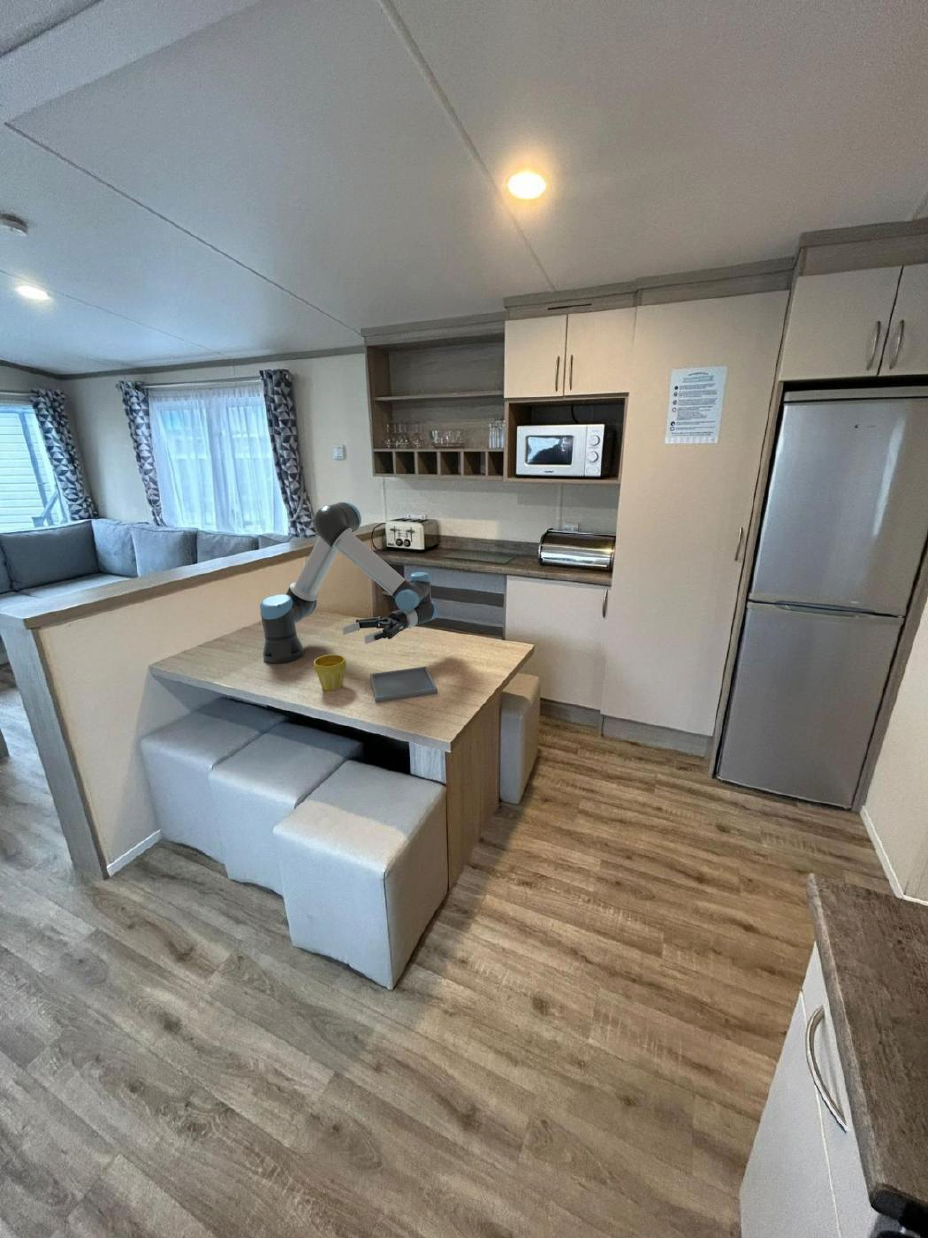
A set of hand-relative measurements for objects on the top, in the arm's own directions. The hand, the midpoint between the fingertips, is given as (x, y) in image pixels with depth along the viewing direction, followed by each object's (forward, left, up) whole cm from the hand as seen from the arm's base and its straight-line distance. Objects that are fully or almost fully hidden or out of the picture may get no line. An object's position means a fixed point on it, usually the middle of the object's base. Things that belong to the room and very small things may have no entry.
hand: (353, 635), depth 166 cm
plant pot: (-9, -5, -16) cm, 19 cm away
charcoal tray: (+14, -12, -16) cm, 24 cm away
